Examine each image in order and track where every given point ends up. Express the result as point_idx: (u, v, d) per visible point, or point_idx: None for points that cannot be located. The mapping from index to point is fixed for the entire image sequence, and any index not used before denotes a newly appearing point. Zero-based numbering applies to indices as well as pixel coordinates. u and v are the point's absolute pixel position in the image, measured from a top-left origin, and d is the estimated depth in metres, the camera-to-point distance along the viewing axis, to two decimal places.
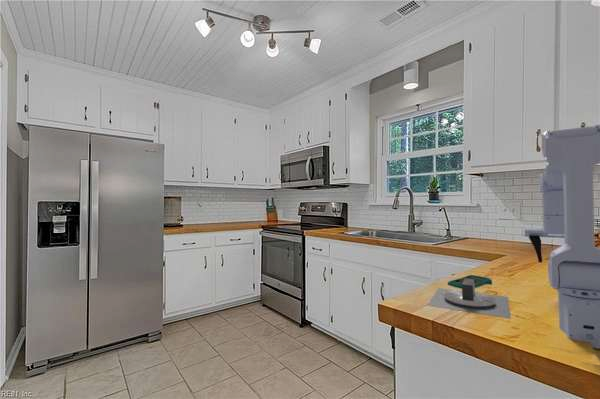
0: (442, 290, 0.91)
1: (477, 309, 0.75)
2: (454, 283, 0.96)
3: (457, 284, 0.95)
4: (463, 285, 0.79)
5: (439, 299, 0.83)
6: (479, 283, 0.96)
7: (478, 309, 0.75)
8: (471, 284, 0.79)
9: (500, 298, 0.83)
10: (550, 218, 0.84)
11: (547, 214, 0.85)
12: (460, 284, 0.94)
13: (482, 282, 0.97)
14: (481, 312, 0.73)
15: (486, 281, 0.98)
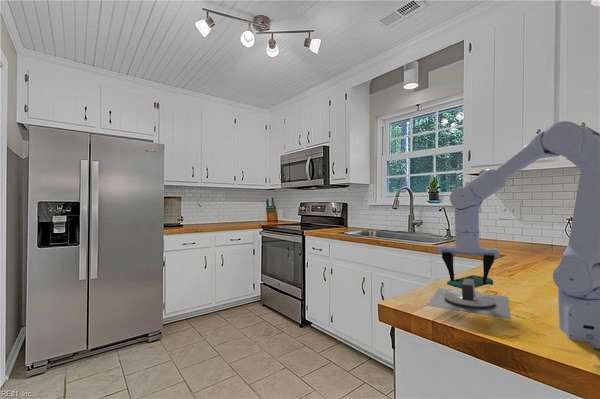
0: (442, 290, 0.91)
1: (477, 309, 0.75)
2: (453, 283, 0.96)
3: (456, 284, 0.95)
4: (463, 285, 0.79)
5: (439, 299, 0.83)
6: (479, 283, 0.96)
7: (478, 309, 0.75)
8: (471, 284, 0.79)
9: (500, 298, 0.83)
10: (459, 235, 0.80)
11: (469, 231, 0.79)
12: (459, 284, 0.95)
13: (482, 282, 0.97)
14: (481, 312, 0.73)
15: (487, 281, 0.98)
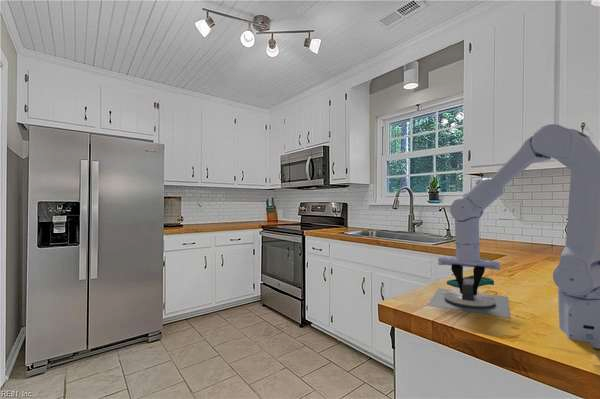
0: (442, 290, 0.91)
1: (477, 309, 0.75)
2: (452, 282, 0.97)
3: (455, 283, 0.96)
4: (463, 285, 0.79)
5: (439, 299, 0.83)
6: (479, 283, 0.96)
7: (478, 309, 0.75)
8: (471, 284, 0.79)
9: (500, 298, 0.83)
10: (460, 247, 0.80)
11: (470, 243, 0.79)
12: None
13: (482, 282, 0.96)
14: (481, 312, 0.73)
15: (487, 281, 0.97)
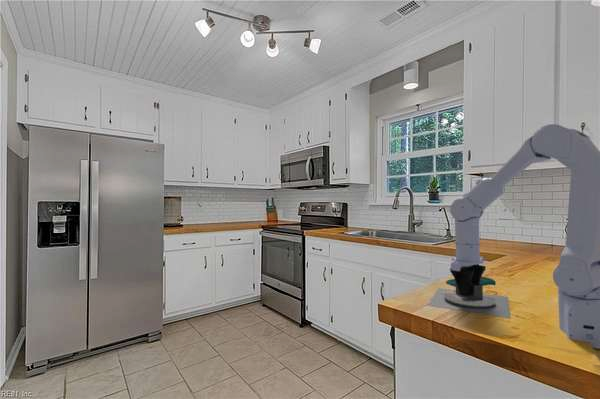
0: (442, 290, 0.91)
1: (477, 309, 0.75)
2: (451, 282, 0.97)
3: (454, 283, 0.96)
4: (475, 286, 0.78)
5: (439, 299, 0.83)
6: None
7: (478, 309, 0.75)
8: (478, 284, 0.79)
9: (500, 298, 0.83)
10: (474, 247, 0.79)
11: (470, 243, 0.79)
12: None
13: (482, 282, 0.96)
14: (481, 312, 0.73)
15: (488, 282, 0.97)
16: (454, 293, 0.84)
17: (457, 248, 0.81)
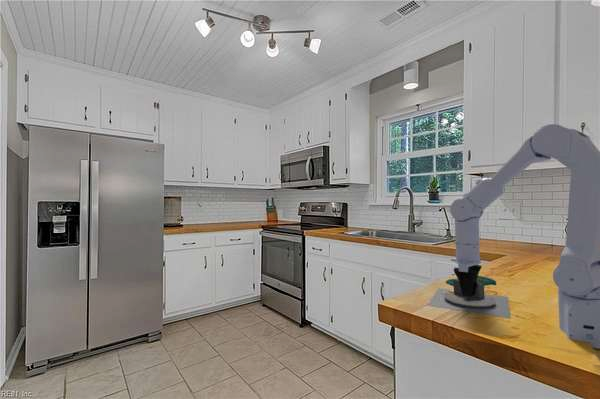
0: (442, 290, 0.91)
1: (477, 309, 0.75)
2: (451, 282, 0.98)
3: (453, 283, 0.97)
4: (479, 286, 0.78)
5: (439, 299, 0.83)
6: None
7: (478, 309, 0.75)
8: (479, 283, 0.80)
9: (500, 298, 0.83)
10: (476, 247, 0.79)
11: (470, 243, 0.79)
12: None
13: (482, 282, 0.96)
14: (481, 312, 0.73)
15: (488, 282, 0.97)
16: (453, 294, 0.83)
17: (459, 248, 0.81)
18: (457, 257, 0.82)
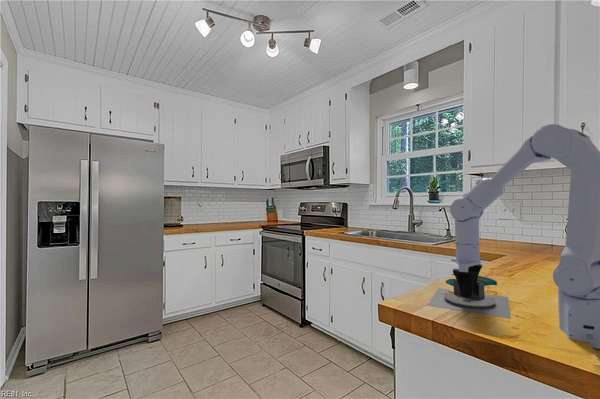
0: (442, 290, 0.91)
1: (477, 309, 0.75)
2: (450, 281, 0.98)
3: (452, 282, 0.97)
4: (479, 286, 0.78)
5: (439, 299, 0.83)
6: None
7: (478, 309, 0.75)
8: (479, 283, 0.80)
9: (500, 298, 0.83)
10: (476, 247, 0.79)
11: (470, 243, 0.79)
12: None
13: (482, 283, 0.96)
14: (481, 312, 0.73)
15: (488, 282, 0.97)
16: (453, 294, 0.83)
17: (459, 249, 0.81)
18: (457, 257, 0.82)
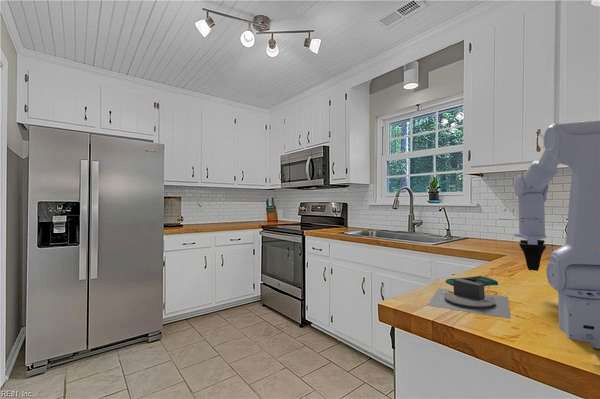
0: (442, 290, 0.91)
1: (477, 309, 0.75)
2: (450, 281, 0.98)
3: (451, 282, 0.97)
4: (479, 286, 0.78)
5: (439, 299, 0.83)
6: None
7: (478, 309, 0.75)
8: (479, 283, 0.80)
9: (500, 298, 0.83)
10: (543, 222, 0.81)
11: (525, 218, 0.82)
12: None
13: (482, 283, 0.96)
14: (481, 312, 0.73)
15: (489, 282, 0.96)
16: (453, 294, 0.83)
17: (524, 223, 0.83)
18: (522, 232, 0.83)
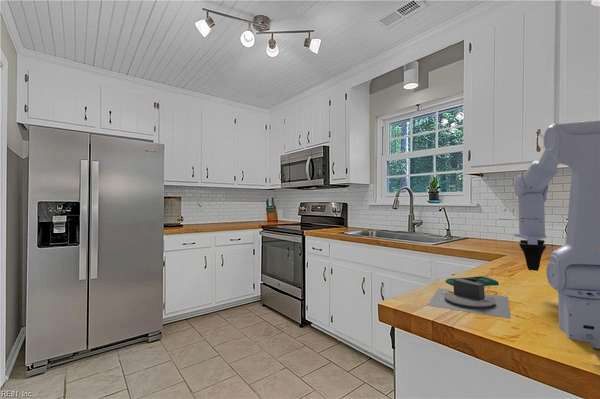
0: (442, 290, 0.91)
1: (477, 309, 0.75)
2: (449, 281, 0.99)
3: (451, 282, 0.98)
4: (479, 286, 0.78)
5: (439, 299, 0.83)
6: None
7: (478, 309, 0.75)
8: (479, 283, 0.80)
9: (500, 298, 0.83)
10: (543, 222, 0.81)
11: (525, 218, 0.82)
12: (453, 282, 0.97)
13: (482, 283, 0.96)
14: (481, 312, 0.73)
15: (489, 282, 0.96)
16: (453, 294, 0.83)
17: (524, 223, 0.83)
18: (522, 232, 0.83)
